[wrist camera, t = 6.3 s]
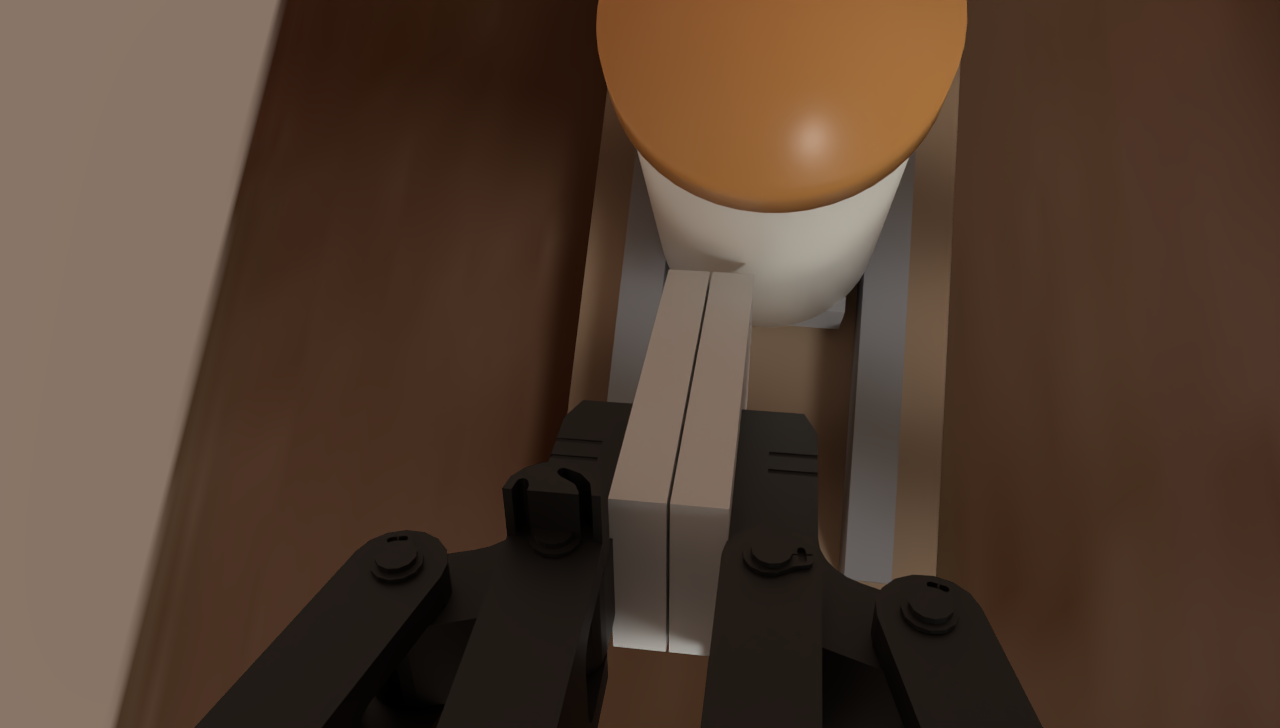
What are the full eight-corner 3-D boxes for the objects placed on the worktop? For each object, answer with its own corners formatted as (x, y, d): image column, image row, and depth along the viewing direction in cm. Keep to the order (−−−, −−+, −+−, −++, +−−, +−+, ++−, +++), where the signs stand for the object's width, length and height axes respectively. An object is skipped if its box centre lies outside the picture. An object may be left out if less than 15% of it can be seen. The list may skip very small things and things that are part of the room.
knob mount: (918, 630, 25) (963, 642, 20) (560, 589, 26) (513, 591, 21) (955, -89, 29) (1001, -238, 24) (643, -97, 30) (621, -242, 25)
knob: (870, 360, 24) (958, 199, 14) (646, 341, 25) (575, 176, 15) (883, 149, 25) (975, -142, 15) (668, 137, 26) (617, -149, 16)
